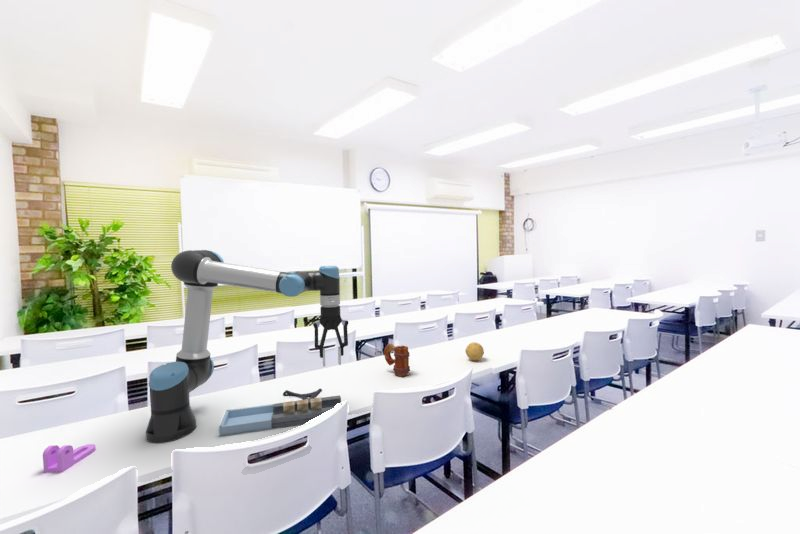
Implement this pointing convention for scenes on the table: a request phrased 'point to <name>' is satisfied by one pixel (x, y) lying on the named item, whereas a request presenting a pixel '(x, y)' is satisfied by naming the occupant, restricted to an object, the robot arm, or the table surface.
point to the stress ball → (474, 351)
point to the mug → (398, 359)
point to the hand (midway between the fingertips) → (331, 364)
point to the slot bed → (300, 413)
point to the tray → (246, 420)
